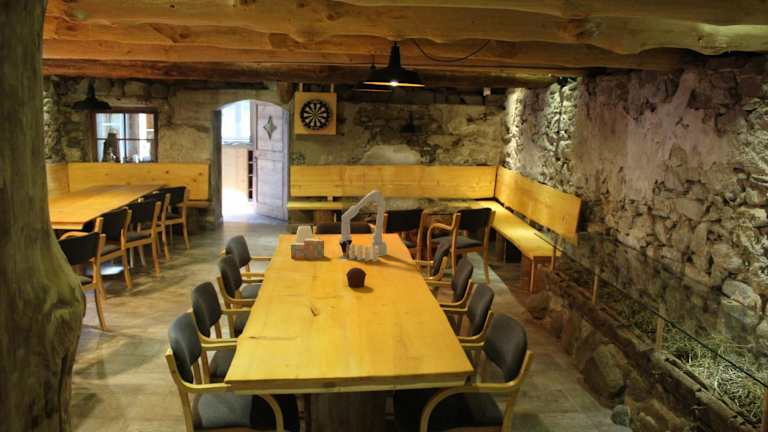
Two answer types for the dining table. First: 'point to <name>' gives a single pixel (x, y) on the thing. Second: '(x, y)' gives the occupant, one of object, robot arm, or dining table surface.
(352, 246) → the ivory domino
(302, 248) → the stack of blocks
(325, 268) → the dining table surface
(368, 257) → the ivory domino
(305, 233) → the cup
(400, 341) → the dining table surface
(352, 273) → the muffin
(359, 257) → the ivory domino
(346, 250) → the red domino
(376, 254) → the ivory domino
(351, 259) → the domino mat
